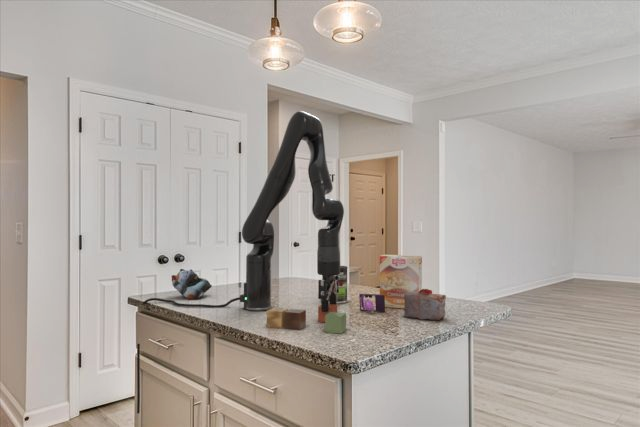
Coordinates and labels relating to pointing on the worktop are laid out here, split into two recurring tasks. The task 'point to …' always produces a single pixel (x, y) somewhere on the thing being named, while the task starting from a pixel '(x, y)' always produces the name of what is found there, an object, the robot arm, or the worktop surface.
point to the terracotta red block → (322, 314)
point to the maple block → (276, 317)
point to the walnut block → (295, 319)
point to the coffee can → (342, 286)
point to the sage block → (335, 322)
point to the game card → (368, 304)
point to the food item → (424, 305)
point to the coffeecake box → (399, 278)
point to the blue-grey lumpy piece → (190, 284)
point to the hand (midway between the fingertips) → (329, 309)
